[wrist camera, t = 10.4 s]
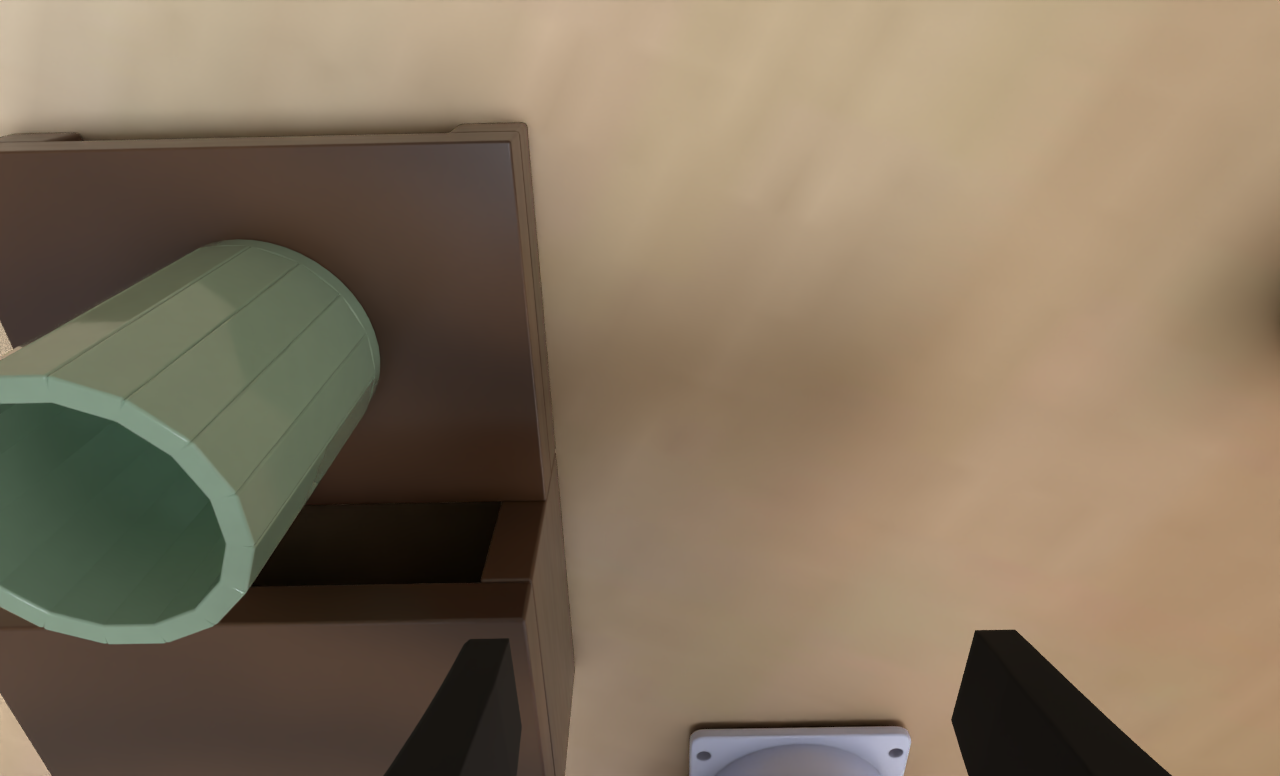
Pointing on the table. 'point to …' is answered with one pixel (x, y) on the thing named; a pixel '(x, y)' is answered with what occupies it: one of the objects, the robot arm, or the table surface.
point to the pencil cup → (174, 439)
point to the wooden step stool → (361, 472)
